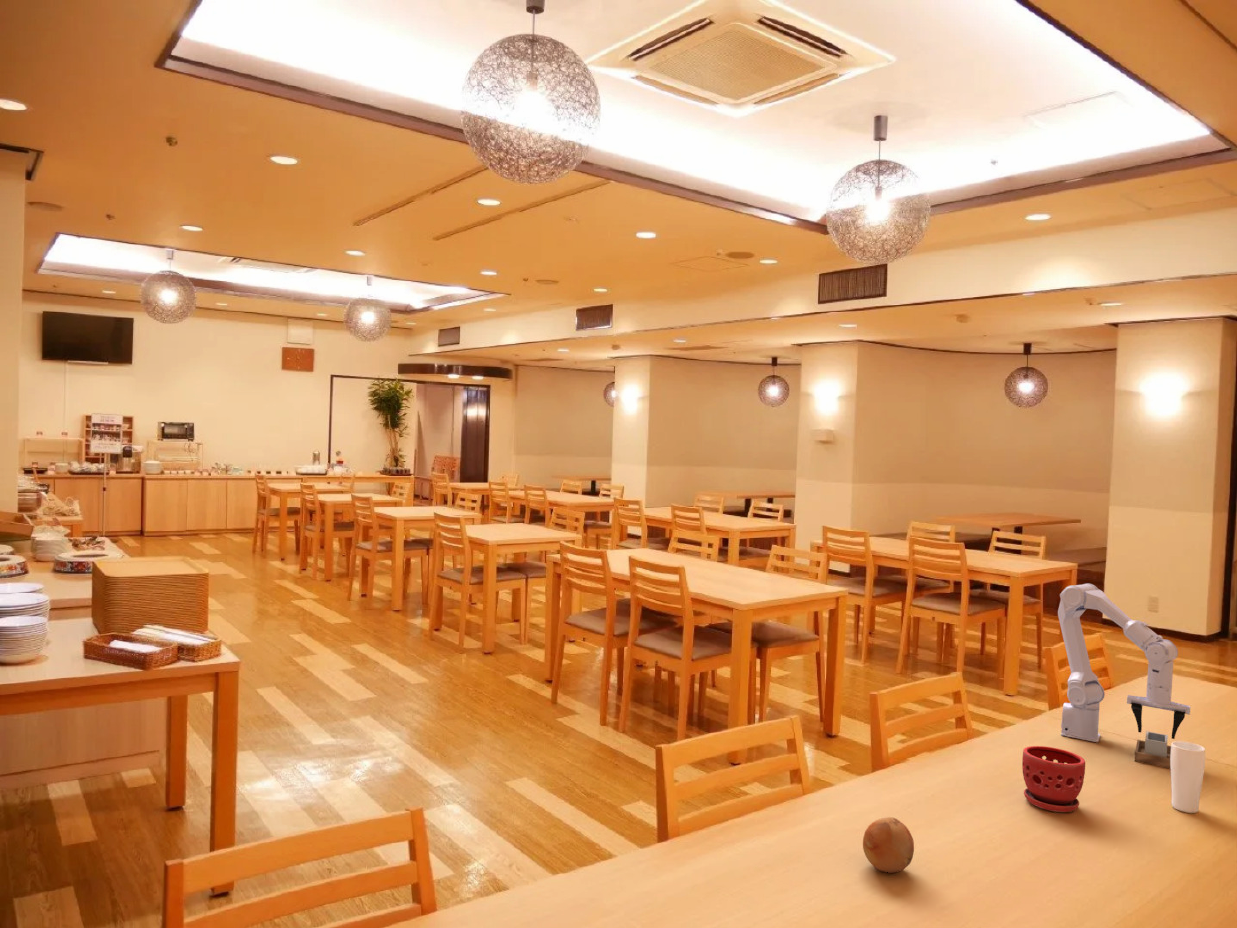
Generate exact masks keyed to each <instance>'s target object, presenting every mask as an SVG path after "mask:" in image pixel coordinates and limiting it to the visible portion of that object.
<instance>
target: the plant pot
mask: <svg viewBox="0 0 1237 928" xmlns="http://www.w3.org/2000/svg"><path fill="white" fill-rule="evenodd" d="M1043 757H1045V759H1043ZM1055 761H1057V762H1055ZM1021 767H1022V768H1021V769H1022V777H1023V780H1024V783H1025V786H1026V789H1024V791H1023V795H1024V797H1025V799H1026V800H1027V801H1028V802H1029V803H1030V804H1032V805H1034V806H1035V807H1037V808H1040V809H1043V810H1046V811H1049V812H1050V813H1054V812H1055V813H1056V812H1057V813H1068V812H1072V811H1073V812H1074V811H1075V810H1076V809H1078V808H1079V806H1080V801H1079V799H1078V798H1077V797H1079V795H1080V793H1081V792H1082V788H1083V785H1084V782H1085V781H1084V779H1085V774H1086V761H1085V758H1083V757H1082V756H1081V755H1079V754H1076V753H1075V752H1073V751H1068V750H1065V749H1061V748H1056V747H1051V746H1042V745H1032V746H1026V747H1025V748H1023V750H1022V766H1021Z"/></svg>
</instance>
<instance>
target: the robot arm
mask: <svg viewBox="0 0 1237 928" xmlns="http://www.w3.org/2000/svg"><path fill="white" fill-rule="evenodd" d="M1059 597H1060V601H1059V606H1058V610H1057V617H1058V621H1059V625H1060V630H1061V635H1062V639H1063V643H1064V647H1065V651H1066V657H1067V660H1068V661H1067V662H1068V665H1069V670H1070V674H1069V677H1068V679H1067V692H1066V695H1067V699H1068V701H1069V702H1064V703H1063V705H1062V713H1061V724H1060V727H1061V733H1060V735H1061V736H1063V737H1069V738H1074V739H1078V740H1083V741H1088V742H1094V743H1099V741H1100V738H1101V733H1099V723H1100V722H1099V721H1100V703H1101V702H1102V701H1104V699H1105V694H1106V692H1105V689H1104V687H1103V686H1102V685H1101V683H1100V680H1099V677H1098V676H1097V675H1096V674H1095V672H1094V671H1092V665H1091V663H1090V662H1091V661H1090V658H1089V654H1088V650H1087V644H1086V641H1085V640H1086V639H1085V636H1084V632H1083V627H1082V623H1081V619H1080V617H1081V616H1082V615H1083V614H1084V612H1085V611H1086V610H1087V609H1089V610H1090V609H1091V610H1097V611H1099V612H1101V613H1102V614H1103V615H1105V616H1106V617H1107V618H1108V619H1110V620H1111V621H1112V622H1114V623H1115V624H1116V625H1118V626H1119V627H1121V628H1122V629H1123V631H1122V632H1123V635H1124V636H1125V637H1126V638H1127V639H1129V640H1130V641H1131V642H1132V643H1133V644H1135V646H1137V647H1138V648H1139V649H1141V651H1143V652H1144V656H1145V658H1146V660H1147V661H1148V662H1147V663H1148V664H1147V665H1148V666H1147V678H1146V682H1147V683H1146V695H1145V696H1138V695H1129V694H1128V695H1126V696H1127V697H1126V705H1127V704H1128V705H1131V707H1130V708H1131V711H1132V713H1133V715H1134V718H1135V721H1136V725H1137V732H1138V733H1140V734H1141V733H1142V727H1143V723H1142V722H1143V721H1142V717H1143V716H1142V715H1143V707H1146V708H1147V707H1148V708H1153V709H1157V710H1158V709H1160V710H1165V711H1170V712H1173V725H1172V731H1171V739H1173V740H1175V739H1176V734H1177V731H1178V729H1179V727H1180V725H1181V724H1182V722H1183V721H1184V719H1185V717H1186V715H1187V716H1188V715H1191V705H1188V704H1182V703H1178V702H1174V701H1172V693H1173V692H1172V691H1173V690H1172V689H1173V679H1174V678H1173V674H1174V660H1176V659H1177V658H1178V655H1179V652H1178V651H1179V650H1178V647H1177V646H1176V645H1175V644H1174V643H1173V641H1171V640H1169V639H1164V637H1163V636H1162V635H1161V634H1159V635H1158V634H1157V633H1156V632H1155V631H1153V630H1152V629H1151V628H1150V627H1148V626H1149V624H1148V623H1147V622H1146V621H1141V620H1140V619H1139V620H1138V619H1137V620H1133V619H1132V618H1131V617H1129V615H1128V614H1126V613H1125V612H1124V611H1123V610H1122V609H1121V608H1120V607H1119V606H1117V605H1116V604H1115V603H1114V602H1113V601H1112V600H1111V599H1110V598H1108V596H1107V595H1106V593H1104V591H1102V590H1101V589H1099V588H1098V587H1097V586H1096V585H1094V584H1092V583H1083V584H1076V585H1072V584H1071V585H1068V586H1066V587H1065V588H1064V589H1063V590H1062V591H1061V593H1059Z"/></svg>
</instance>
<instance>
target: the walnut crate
mask: <svg viewBox="0 0 1237 928" xmlns="http://www.w3.org/2000/svg"><path fill="white" fill-rule="evenodd" d="M1170 752H1171V745H1168V744H1167V758H1166V757H1161V756H1156V755H1151V754H1146V753H1145V740H1142V739H1137V740H1136V746H1135V750H1134V762H1136V763H1142V764H1147V765H1152V766H1155V767H1156V766H1157V767H1160V768H1166V769H1170V770H1171V768H1170Z"/></svg>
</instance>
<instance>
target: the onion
mask: <svg viewBox="0 0 1237 928" xmlns="http://www.w3.org/2000/svg"><path fill="white" fill-rule="evenodd" d="M914 841H915V840H914V838H913V836H912V833H911V831H910V830H909V828H908V827H907V825H906V824H904V823H903V822H901V821H900V820H899V819H897V818H895V817H890V816H888V817H887V816H886V817H881V818H878V819H876V820H874V821H873V822H871V823H870V824H869V825H868V826H867V828H866V830H864V833H863V838H862V849H863V852H864V855H865V858H866V859H867V861H868V862H869V864H871V865H872V866H873V868H876V870H878V871H880V872H883V871H884V872H883V873H887V872H888V873H887V874H893V873H898V872H901V871H903V870H905V869H906V868H908V866H909V865H910V864H911V862H912V860H913V857H914V852H915V842H914Z"/></svg>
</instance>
